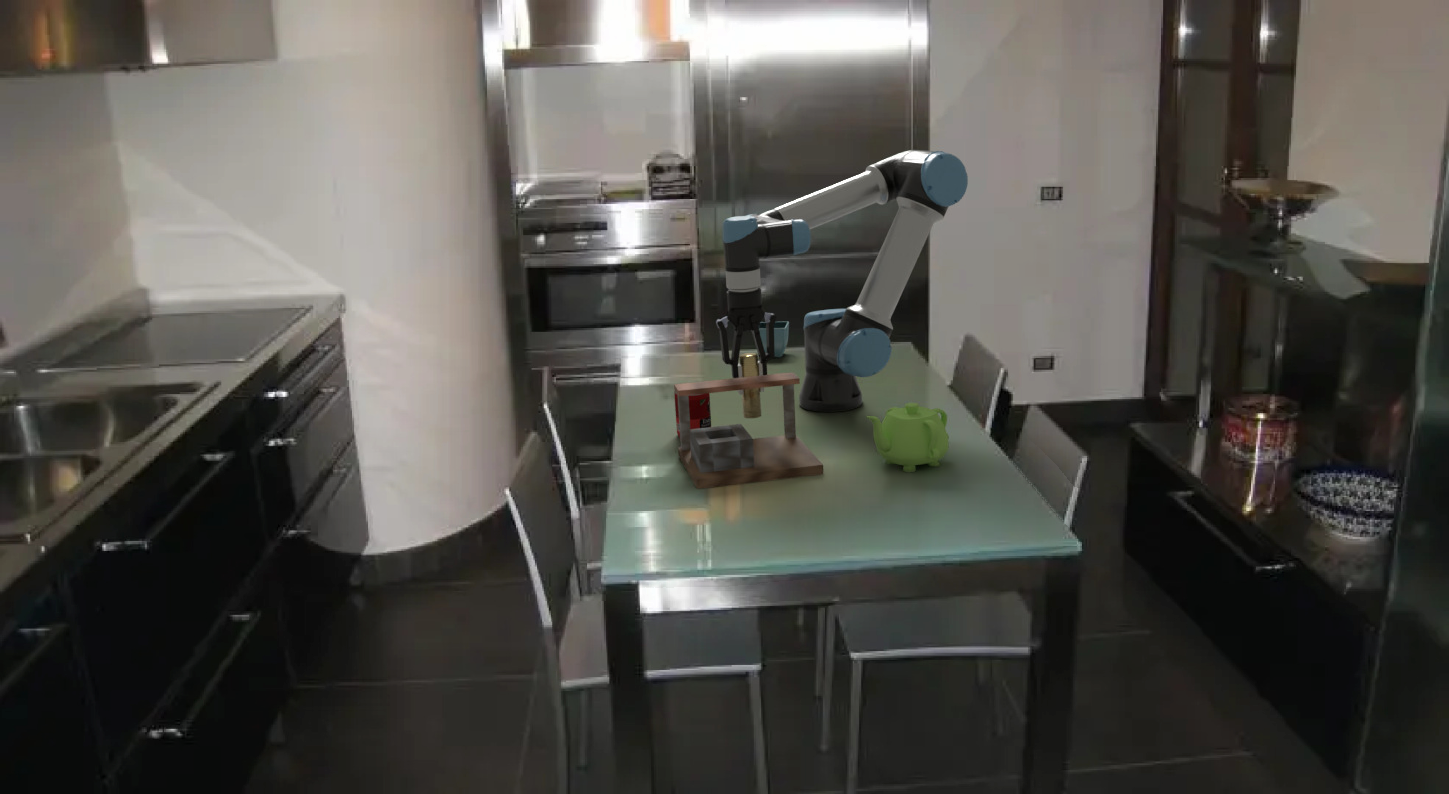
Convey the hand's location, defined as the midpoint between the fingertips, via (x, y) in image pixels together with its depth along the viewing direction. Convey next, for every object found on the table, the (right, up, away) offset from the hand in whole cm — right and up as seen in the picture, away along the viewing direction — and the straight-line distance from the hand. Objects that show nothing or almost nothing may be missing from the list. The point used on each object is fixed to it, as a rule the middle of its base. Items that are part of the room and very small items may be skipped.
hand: (750, 391), depth 274 cm
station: (-1, -15, -17) cm, 23 cm away
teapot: (+32, -15, -22) cm, 42 cm away
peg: (0, -5, +2) cm, 6 cm away
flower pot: (+8, +10, +75) cm, 76 cm away
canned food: (-13, -10, +5) cm, 17 cm away
